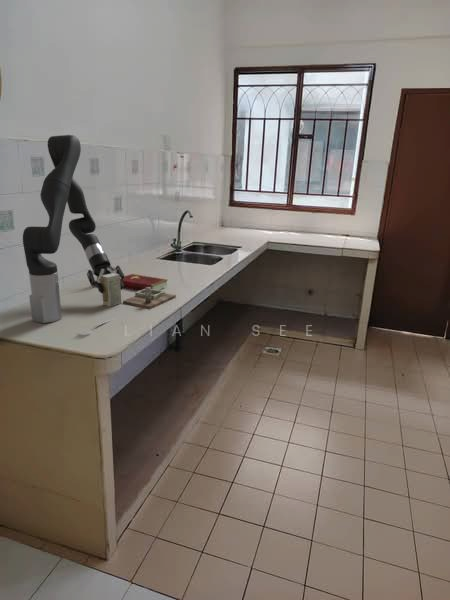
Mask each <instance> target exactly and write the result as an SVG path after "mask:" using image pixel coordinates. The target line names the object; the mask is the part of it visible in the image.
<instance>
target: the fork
mask: <svg viewBox="0 0 450 600" xmlns="http://www.w3.org/2000/svg"><path fill="white" fill-rule="evenodd" d="M115 319H116V317H110V318H109V319H106V320H105V321H102V322H101V323H98V324H95V325H94V326H93V327H92V328H90V329H89V331H90V332H94V331H95V329H96V328H97V327H98V326H100V325H105V324H107V323H108V322H109V323H110V322H111V321H113V320H115ZM90 332H88V331H87V332H86V331H84V332H79V333H78V332H77V333H75V335H78V336H88V335H91V334H92V333H90Z"/></svg>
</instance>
